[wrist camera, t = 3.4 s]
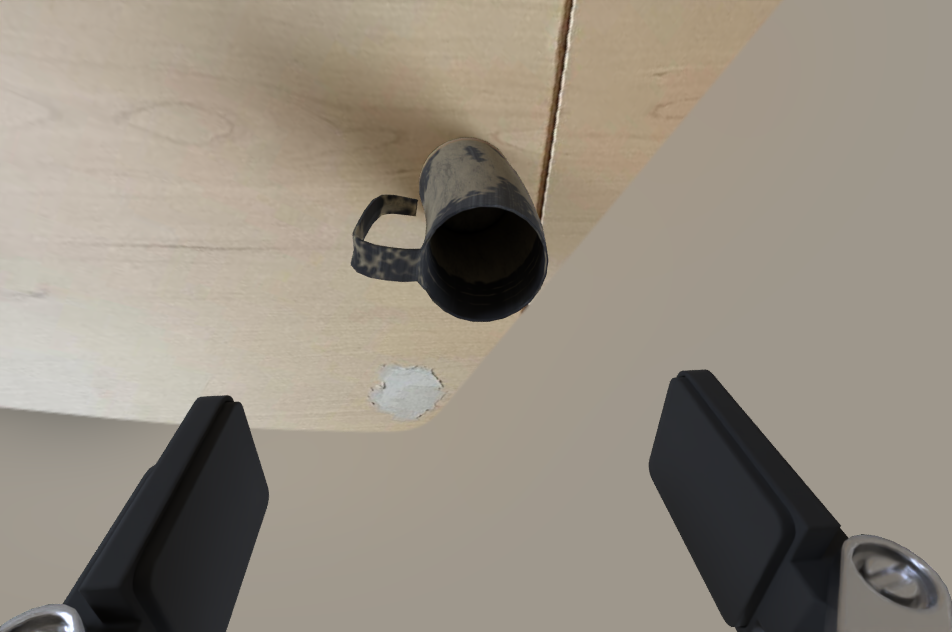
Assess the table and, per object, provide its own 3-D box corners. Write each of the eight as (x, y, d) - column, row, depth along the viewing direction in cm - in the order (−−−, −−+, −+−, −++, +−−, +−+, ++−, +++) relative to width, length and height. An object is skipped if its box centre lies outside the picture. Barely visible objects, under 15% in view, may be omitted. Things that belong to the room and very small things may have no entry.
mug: (526, 147, 27) (584, 218, 17) (505, 238, 30) (544, 348, 20) (383, 121, 26) (352, 181, 16) (375, 219, 29) (344, 326, 18)
